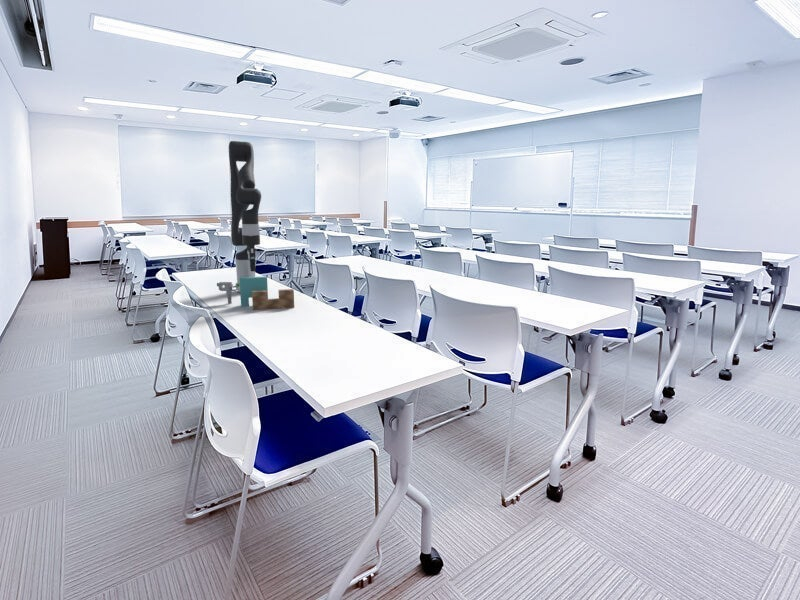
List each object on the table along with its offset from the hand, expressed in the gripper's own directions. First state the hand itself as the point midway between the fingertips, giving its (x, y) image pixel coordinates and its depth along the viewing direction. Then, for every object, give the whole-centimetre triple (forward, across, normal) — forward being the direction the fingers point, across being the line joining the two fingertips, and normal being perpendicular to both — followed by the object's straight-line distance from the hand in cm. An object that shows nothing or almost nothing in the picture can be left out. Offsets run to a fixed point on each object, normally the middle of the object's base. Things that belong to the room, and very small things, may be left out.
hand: (252, 269), depth 216 cm
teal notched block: (+16, 0, 0) cm, 17 cm away
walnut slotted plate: (+16, +8, +8) cm, 20 cm away
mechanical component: (+17, -6, -11) cm, 21 cm away
